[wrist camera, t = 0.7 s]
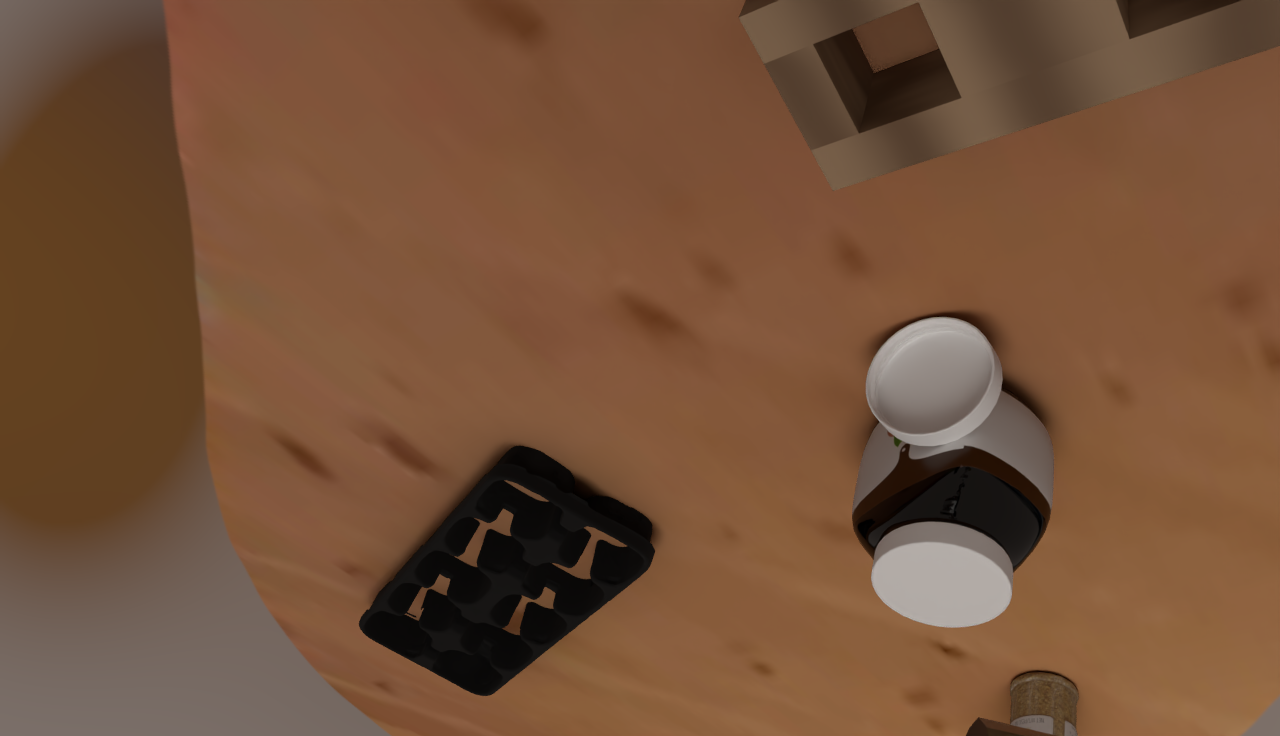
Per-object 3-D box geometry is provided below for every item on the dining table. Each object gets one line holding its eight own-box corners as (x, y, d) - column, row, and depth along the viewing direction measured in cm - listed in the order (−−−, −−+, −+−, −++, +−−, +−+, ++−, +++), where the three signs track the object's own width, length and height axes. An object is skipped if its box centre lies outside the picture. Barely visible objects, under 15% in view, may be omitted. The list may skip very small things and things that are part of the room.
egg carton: (679, 500, 79) (666, 544, 76) (561, 689, 101) (547, 728, 98) (436, 394, 78) (414, 435, 76) (369, 608, 100) (350, 646, 97)
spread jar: (942, 493, 71) (923, 657, 63) (800, 388, 68) (761, 545, 60) (1107, 401, 63) (1109, 576, 55) (953, 278, 60) (933, 443, 52)
